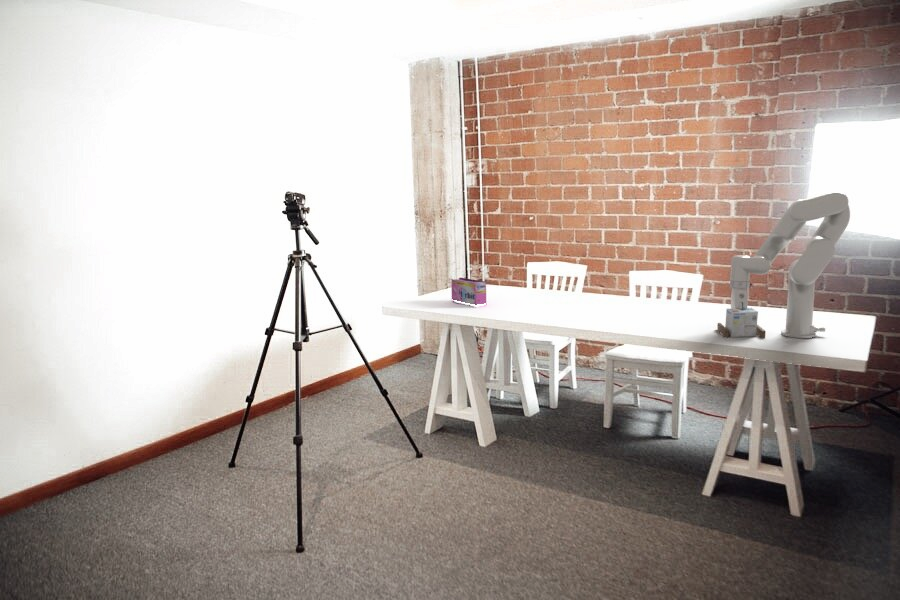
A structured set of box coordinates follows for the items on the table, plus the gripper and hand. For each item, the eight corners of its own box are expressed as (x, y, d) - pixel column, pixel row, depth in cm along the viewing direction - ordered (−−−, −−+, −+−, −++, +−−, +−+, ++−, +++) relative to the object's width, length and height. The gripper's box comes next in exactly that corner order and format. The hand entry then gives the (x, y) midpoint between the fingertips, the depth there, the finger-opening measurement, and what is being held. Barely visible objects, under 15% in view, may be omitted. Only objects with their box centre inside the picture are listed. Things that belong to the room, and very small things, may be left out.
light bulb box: (748, 331, 271) (751, 307, 269) (756, 336, 265) (759, 311, 262) (723, 332, 271) (725, 308, 268) (730, 337, 265) (733, 312, 262)
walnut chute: (755, 329, 276) (755, 323, 275) (765, 338, 262) (765, 331, 261) (717, 329, 279) (717, 322, 278) (725, 337, 265) (725, 330, 264)
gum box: (449, 302, 366) (449, 278, 364) (460, 300, 371) (460, 277, 368) (475, 307, 347) (475, 283, 345) (487, 305, 352) (486, 281, 349)
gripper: (753, 287, 262) (750, 331, 266) (744, 282, 277) (742, 323, 280) (733, 287, 264) (731, 330, 267) (726, 281, 278) (723, 323, 282)
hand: (736, 327), depth 274 cm, fingers closed
